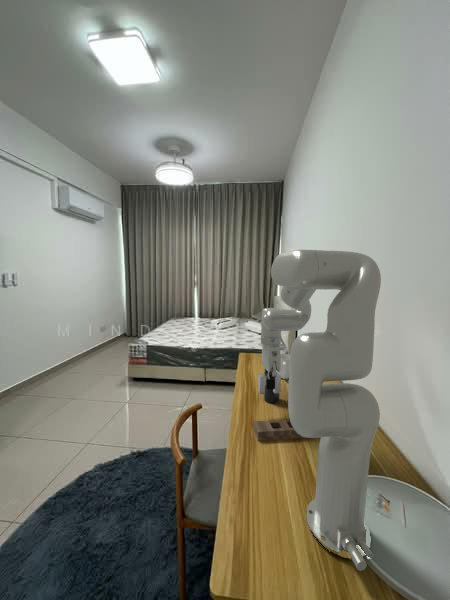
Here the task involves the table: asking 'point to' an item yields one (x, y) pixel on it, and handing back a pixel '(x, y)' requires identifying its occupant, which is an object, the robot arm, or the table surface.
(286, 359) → the mug
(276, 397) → the supplement bottle
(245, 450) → the table surface
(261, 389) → the grey boxy piece
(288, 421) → the rail
